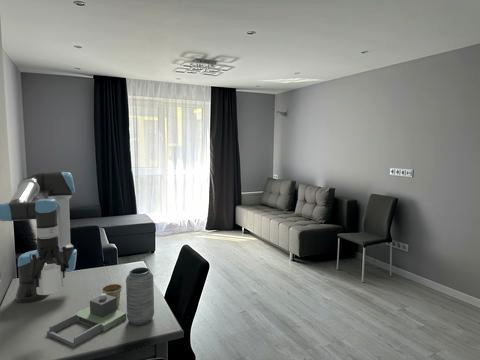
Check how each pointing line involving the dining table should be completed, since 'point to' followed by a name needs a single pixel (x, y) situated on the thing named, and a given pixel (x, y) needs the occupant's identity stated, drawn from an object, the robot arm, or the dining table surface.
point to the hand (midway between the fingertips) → (50, 290)
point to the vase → (140, 296)
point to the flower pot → (113, 291)
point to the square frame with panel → (91, 319)
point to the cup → (51, 279)
